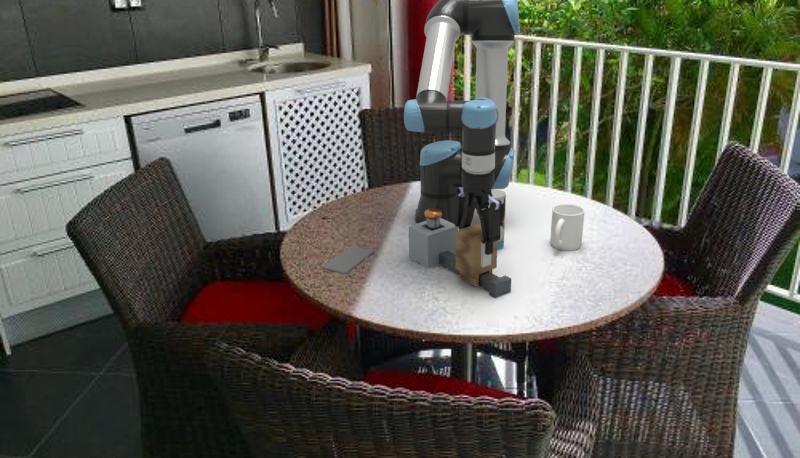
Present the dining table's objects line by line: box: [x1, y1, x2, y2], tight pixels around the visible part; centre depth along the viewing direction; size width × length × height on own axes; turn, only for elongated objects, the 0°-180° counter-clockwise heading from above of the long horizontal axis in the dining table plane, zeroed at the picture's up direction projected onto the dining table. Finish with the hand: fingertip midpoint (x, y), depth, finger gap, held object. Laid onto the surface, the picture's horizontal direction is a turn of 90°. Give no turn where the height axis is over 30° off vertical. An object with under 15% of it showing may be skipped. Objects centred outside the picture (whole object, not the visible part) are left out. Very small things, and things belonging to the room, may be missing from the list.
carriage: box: [455, 222, 498, 287], centre depth 164 cm, size 6×8×13 cm
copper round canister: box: [425, 209, 442, 231], centre depth 175 cm, size 4×4×7 cm
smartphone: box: [321, 244, 375, 275], centre depth 179 cm, size 8×1×15 cm
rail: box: [438, 251, 512, 299], centre depth 167 cm, size 22×5×4 cm, turn 36°
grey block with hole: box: [407, 218, 459, 269], centre depth 177 cm, size 8×10×9 cm
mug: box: [550, 203, 585, 251], centre depth 181 cm, size 12×8×10 cm
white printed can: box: [481, 189, 507, 251], centre depth 182 cm, size 7×7×15 cm
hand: (476, 260), depth 165 cm, fingers closed on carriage, 6 cm apart
